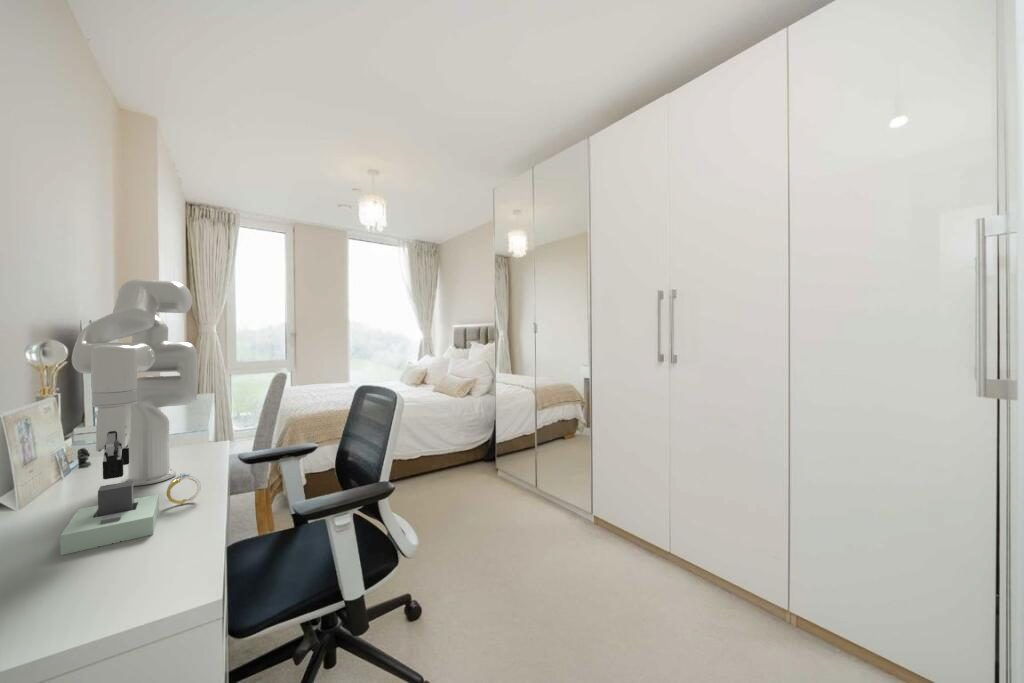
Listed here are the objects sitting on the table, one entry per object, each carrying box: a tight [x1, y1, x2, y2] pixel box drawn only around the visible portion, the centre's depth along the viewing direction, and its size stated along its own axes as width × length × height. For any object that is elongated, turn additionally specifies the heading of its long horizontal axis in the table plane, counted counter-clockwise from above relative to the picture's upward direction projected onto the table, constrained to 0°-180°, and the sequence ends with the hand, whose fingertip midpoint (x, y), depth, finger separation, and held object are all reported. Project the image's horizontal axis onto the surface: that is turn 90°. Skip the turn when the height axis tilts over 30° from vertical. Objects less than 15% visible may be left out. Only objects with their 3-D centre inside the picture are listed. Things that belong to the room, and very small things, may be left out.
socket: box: [59, 494, 160, 556], centre depth 92 cm, size 16×14×5 cm
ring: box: [165, 472, 202, 505], centre depth 106 cm, size 7×3×8 cm, turn 125°
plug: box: [97, 481, 135, 517], centre depth 93 cm, size 4×6×9 cm
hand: (116, 471), depth 94 cm, fingers open, 9 cm apart
